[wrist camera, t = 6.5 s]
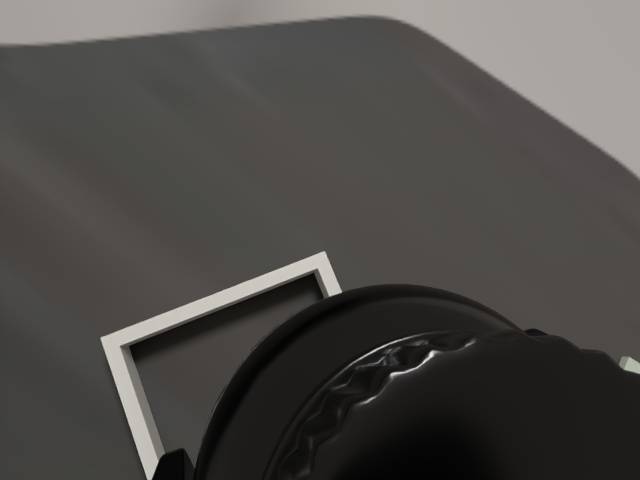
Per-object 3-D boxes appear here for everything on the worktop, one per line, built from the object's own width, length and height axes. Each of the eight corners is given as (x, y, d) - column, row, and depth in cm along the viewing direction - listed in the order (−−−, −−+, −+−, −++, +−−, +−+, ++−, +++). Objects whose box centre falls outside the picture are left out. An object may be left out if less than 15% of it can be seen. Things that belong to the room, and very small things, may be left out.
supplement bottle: (431, 545, 15) (982, 1165, 4) (210, 538, 15) (21, 1278, 3) (434, 324, 17) (827, 264, 5) (236, 307, 16) (179, 195, 5)
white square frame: (405, 462, 22) (416, 470, 21) (188, 570, 20) (183, 587, 19) (320, 257, 24) (324, 251, 22) (111, 338, 22) (100, 338, 20)
